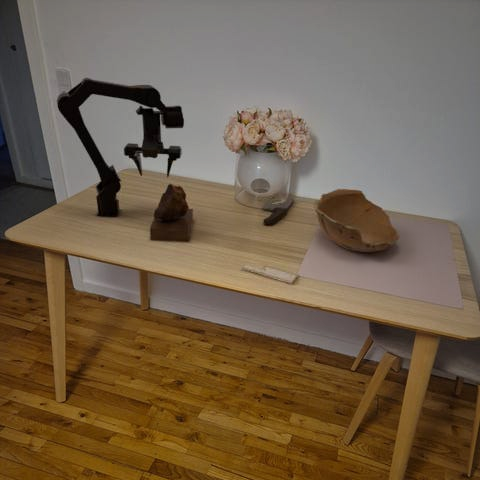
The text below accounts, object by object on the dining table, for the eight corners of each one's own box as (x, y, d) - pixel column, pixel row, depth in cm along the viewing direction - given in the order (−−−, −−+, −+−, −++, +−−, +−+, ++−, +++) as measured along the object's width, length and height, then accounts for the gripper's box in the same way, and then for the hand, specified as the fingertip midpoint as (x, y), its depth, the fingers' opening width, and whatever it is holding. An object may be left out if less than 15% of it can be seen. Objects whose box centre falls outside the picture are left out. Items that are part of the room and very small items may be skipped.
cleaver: (277, 227, 152) (278, 221, 151) (250, 222, 154) (251, 216, 153) (294, 201, 175) (295, 195, 174) (271, 197, 177) (272, 192, 176)
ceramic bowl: (412, 257, 134) (417, 211, 126) (325, 270, 135) (324, 224, 126) (380, 221, 159) (382, 180, 151) (306, 232, 160) (304, 192, 151)
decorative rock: (181, 211, 149) (180, 179, 143) (192, 216, 145) (191, 184, 139) (151, 219, 142) (149, 186, 136) (162, 225, 138) (160, 192, 132)
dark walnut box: (150, 240, 138) (149, 228, 136) (158, 217, 153) (158, 207, 151) (188, 241, 139) (188, 230, 137) (192, 219, 154) (192, 208, 151)
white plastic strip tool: (251, 262, 130) (251, 259, 129) (297, 276, 124) (298, 273, 124) (243, 269, 126) (243, 266, 125) (291, 284, 121) (291, 280, 120)
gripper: (118, 132, 137) (123, 182, 146) (177, 136, 137) (178, 185, 146) (125, 125, 146) (129, 172, 155) (181, 128, 146) (182, 175, 155)
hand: (154, 176), depth 153 cm, fingers open, 9 cm apart
